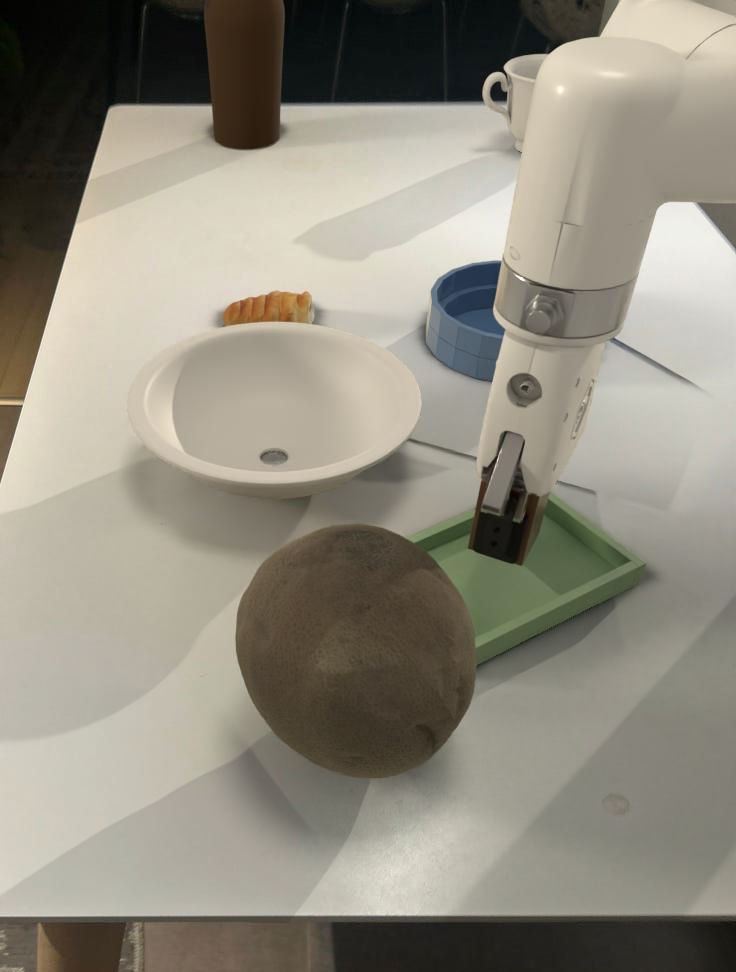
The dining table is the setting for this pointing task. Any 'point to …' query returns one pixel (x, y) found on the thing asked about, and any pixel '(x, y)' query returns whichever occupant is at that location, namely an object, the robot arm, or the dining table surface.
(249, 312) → the pastry
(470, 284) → the blue bowl
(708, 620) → the dining table surface
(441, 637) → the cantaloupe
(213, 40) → the olive oil
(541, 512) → the block
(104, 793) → the dining table surface
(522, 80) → the teacup
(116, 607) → the dining table surface
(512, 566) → the tray
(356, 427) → the vessel sink basin
